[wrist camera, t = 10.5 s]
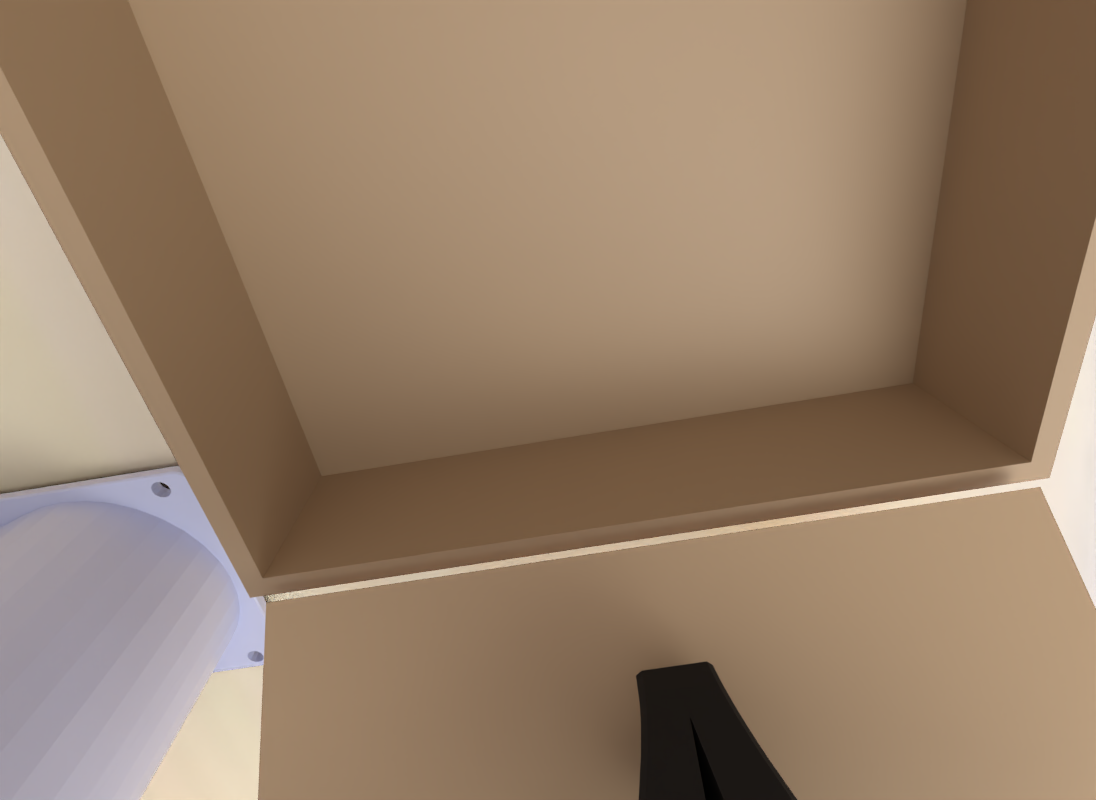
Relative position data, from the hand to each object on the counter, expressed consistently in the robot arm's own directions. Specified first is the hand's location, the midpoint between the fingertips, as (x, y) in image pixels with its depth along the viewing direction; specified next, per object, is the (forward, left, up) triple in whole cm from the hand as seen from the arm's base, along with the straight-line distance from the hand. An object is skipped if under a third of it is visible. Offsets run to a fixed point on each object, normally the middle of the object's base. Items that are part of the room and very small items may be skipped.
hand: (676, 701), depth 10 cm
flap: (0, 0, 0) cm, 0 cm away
